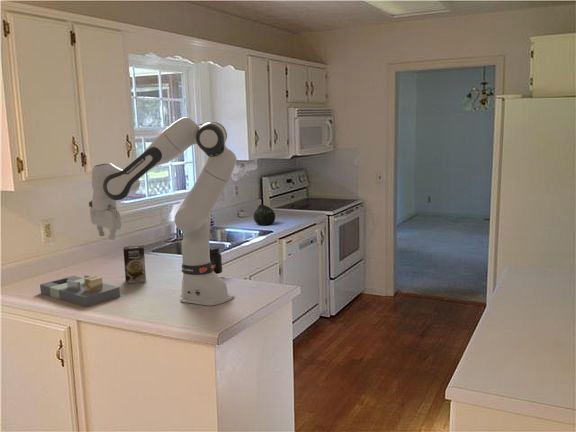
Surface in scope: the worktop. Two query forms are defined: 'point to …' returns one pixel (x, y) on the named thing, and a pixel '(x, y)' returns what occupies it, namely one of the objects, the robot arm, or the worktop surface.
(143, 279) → the coffee box
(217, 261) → the supplement bottle
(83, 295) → the tunnel deck
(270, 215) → the squash
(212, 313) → the worktop surface
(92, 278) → the maple block
